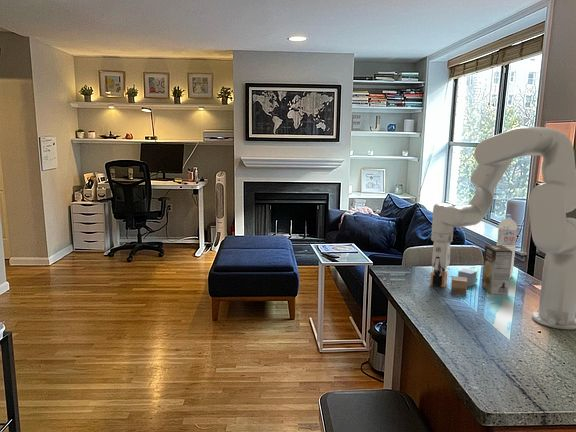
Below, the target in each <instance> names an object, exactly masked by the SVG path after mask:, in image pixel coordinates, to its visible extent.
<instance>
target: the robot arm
mask: <svg viewBox="0 0 576 432" xmlns="http://www.w3.org/2000/svg"><path fill="white" fill-rule="evenodd" d="M473 156H474V159H475V162H476V163H478V165H477V166H476V167H475V169H474V171H473V173H472V174H471V176H470V182H471V183H472V184H473V186H475V192H474V195H473V197H472V199H471V200H470V201H469V203H468V204H464V205H457V206H456V205H455V206H454V205H453V204H452V203H448V202H447V203H446V202H444V203H443V202H442V203H441V202H440V203H439V202H438V203H435V204H434V205H433V208H432V221H431V223H432V224H431V236H430V240H431V241H432V242H433V245H432V254H431V255H432V256H431V266H432V268H433V270H434V272H433V282H432V285H431V286H433V285H434V286H433V287H439V286H440V287H439V288H442V287H441V285H442V276H441V274H442V271H446V269H447V267H449V265H450V264H451V243H452V242H453V241H454V240H453V238H454V228H464V227H471V226H476V225H477V224H480V222H481V221H482V220H483V219H484V218H485V217H486V215H487V214H488V212H489V210H490V209H491V207H492V205H493V202H494V198H495V190H496V187H497V186H498V184H499V182H500V181H501V179H502V177H503V176H504V174H505V173H506V172H507V171H508V168H509V167H510V165H511V163H512V162H513V161H514V159H516V158H519V157H524V156H531V157H533V156H540V157H542V158H543V159H542V163H541V175H542V182H541V183H540V184H537V185H536V186H534V188H533V189H532V190H531V191H530V194H529V196H528V214H529V223H530V231H531V237H532V241H533V243H534V246H535V247H536V248H537V250H539V251H540V252H542V253H544V254H545V257H544V260H543V261H544V262H543V269H542V277H541V287H540V295H539V303H538V304H539V305H538V310H536V311H533V312H532V313H531V315H532V316H531V317H532V319H533V321H535V322H536V323H538V324H541V325H543V326H546V327H549V328H553V329H558V330H559V329H560V330H576V218H574V217H567V213H570V212H573V211H574V210H575V209H576V162H575V161H576V160H575V150H574V146H573V143H572V140H571V139H570V138H569V136H568V135H567V134H565V133H564V132H562V131H561V130H558V129H554V128H550V127H544V126H543V127H542V126H519V127H514V128H512V129H509V130H507V131H504V132H501V133H499V134H496V135H493V136H490V137H487V138H485V139H483V140H481V141H480V142H479V143H478V144H477V145H476V147H475V148H474V153H473ZM439 270H440V271H439Z"/></svg>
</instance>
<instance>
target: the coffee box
mask: <svg viewBox="0 0 576 432" xmlns="http://www.w3.org/2000/svg"><path fill="white" fill-rule="evenodd" d="M512 252H513V251H511V250H509V249H508V248H506V247H504V246H502V245H497V244H485V245H484V253H483V255H484V256H483V266H482V276H481V277H482V278H481V287H482V288H483V289H485V291H487V292H488V294H489V293H490V294H491V295H509V290H510V289H509V287H510V278H511V277H510V270H511V261H512Z"/></svg>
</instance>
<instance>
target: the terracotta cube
mask: <svg viewBox="0 0 576 432" xmlns="http://www.w3.org/2000/svg"><path fill="white" fill-rule="evenodd" d="M439 271H440V270H439ZM433 272H434V269H433V270H432V271H431V272H430V284H429V285H430V286H433V287H435V286H434V285H432V282H433ZM441 276H442V285H441V287H440V286H438V287H439V288H445V287H446V285H447V283H448V271H447V270H445V271H442V274H441Z"/></svg>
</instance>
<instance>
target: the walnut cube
mask: <svg viewBox="0 0 576 432" xmlns="http://www.w3.org/2000/svg"><path fill="white" fill-rule="evenodd" d="M467 287H468V286H467V278H465V277H458V276H454V275H452V276H451V284H450V293H451V294H455V295H463V296H466V295H467V291H468V290H467Z"/></svg>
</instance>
